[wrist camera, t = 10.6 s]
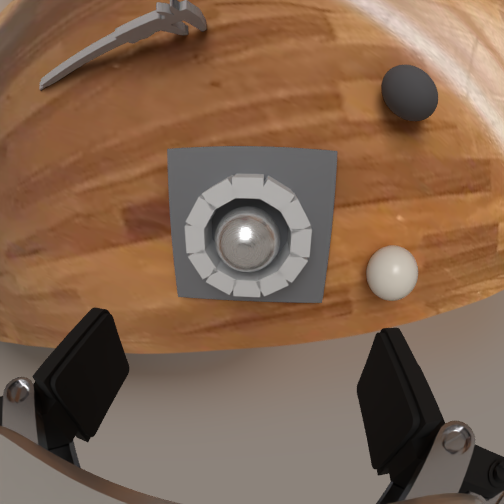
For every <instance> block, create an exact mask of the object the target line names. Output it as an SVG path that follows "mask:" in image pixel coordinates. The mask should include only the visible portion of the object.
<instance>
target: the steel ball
mask: <svg viewBox="0 0 504 504" xmlns="http://www.w3.org/2000/svg"><path fill="white" fill-rule="evenodd" d="M215 247H216V250H217V253H218V255H219V257H220V258H221V260H222V261H223V262H224V263H225V264H226V265H228V266H229V267H231V268H232V269H234V270H237V271H241V272H254V271H258V270H260V269H263V268H264V267H266V266H267V265H269V264H270V263H271V262H272V261H273V259H274V258H275V256H276V255H277V253H278V250H279V247H280V232H279V228H278V226H277V224H276V222H275V220H274V219H273V218H272V217H271V216H270V215H269V214H268V213H267V212H265V211H263V210H262V209H259V208H256V207H250V206H245V207H239V208H236V209H233V210H231V211H230V212H228V213H227V214H226V215H225V216H224V217H223V218H222V219H221V220H220V222H219V224H218V226H217V228H216V231H215Z"/></svg>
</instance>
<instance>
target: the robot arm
mask: <svg viewBox="0 0 504 504" xmlns="http://www.w3.org/2000/svg"><path fill="white" fill-rule="evenodd" d="M128 373H129V364H128V361H127V359H126V356H125V353H124V350H123V347H122V344H121V341H120V338H119V335H118V332H117V329H116V326H115V322H114V319H113V316H112V315H111V314H110V313H109V311H108V310H106V309H100V308H92V309H91V310H90V311H89V312H88V313H87V314H86V315H85V316H84V317H83V319H82V320H81V321H80V322H79V323H78V324H77V325H76V326H75V327H74V328H73V329H72V331H71V332H70V333H69V334H68V335H67V336H66V337H65V338H64V340H63V341H62V342H61V343H60V344H59V345H58V346H57V348H56V349H55V350H54V351H53V352H52V353H51V354H50V356H49V357H48V358H47V359H46V360H45V362H44V363H43V364H42V365H41V366H40V368H39V369H38V370H37V371H36V373H35V374H34V375H33V378H34V380H35V383H34V384H33V383H32V381H31V380H30V379H28V378H26V377H17V378H15V379H13V380H12V381H10V382H9V383H8V384H7V385H6V388H5V389H4V394H3V396H1V397H0V504H180V503H175V502H171V501H168V500H164V499H160V498H156V497H153V496H150V495H147V494H143V493H140V492H137V491H134V490H132V489H129V488H126V487H123V486H121V485H118V484H115V483H112V482H110V481H108V480H105V479H103V478H101V477H98V476H96V475H94V474H92V473H90V472H87V471H85V470H83V469H81V468H80V464H79V461H78V457H77V453H76V450H75V446H74V442H73V438H74V437H75V436H76V437H77V438H79V439H82V440H84V441H86V442H88V441H89V439H90V437H93V436H94V435H95V434H96V432H97V430H98V428H99V426H100V424H101V423H102V421H103V419H104V417H105V415H106V413H107V411H108V409H109V407H110V406H111V404H112V402H113V400H114V398H115V397H116V395H117V393H118V391H119V389H120V387H121V386H122V384H123V382H124V380H125V379H126V377H127V375H128ZM357 395H358V399H359V404H360V408H361V413H362V417H363V422H364V427H365V432H366V436H367V441H368V447H369V452H370V458H371V463H372V467H373V468H374V469H377V473H378V475H383V474H388V473H389V474H390V480H391V482H390V484H389V485H388V487H387V488H386V490H385V492H384V493H383V494H382V496H381V497H380V499H379V500H378V502H377V503H376V504H504V457H502V456H500V455H498V454H495V453H493V452H491V451H488V450H486V449H484V448H482V447H479V446H477V445H475V436H474V433H473V431H472V429H471V428H470V427H469V426H468V425H467V424H465V423H463V422H460V421H450V422H448V423H445V422H444V419H443V417H442V414H441V412H440V410H439V407H438V405H437V403H436V400H435V398H434V396H433V394H432V391H431V389H430V387H429V385H428V383H427V380H426V378H425V376H424V374H423V372H422V370H421V368H420V366H419V365H418V364H417V362H416V360H415V358H414V356H413V354H412V352H411V350H410V348H409V346H408V344H407V342H406V340H405V338H404V336H403V335H402V333H401V331H400V329H399V328H383V329H382V330H381V332H380V333H377V334H376V336H375V339H374V342H373V345H372V348H371V350H370V353H369V356H368V359H367V362H366V364H365V367H364V369H363V372H362V374H361V377H360V380H359V382H358V385H357Z"/></svg>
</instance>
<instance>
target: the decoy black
mask: <svg viewBox="0 0 504 504" xmlns="http://www.w3.org/2000/svg"><path fill="white" fill-rule="evenodd" d="M382 95H383V98H384V101H385V103H386V104H387V106H388V107H389V109H390V110H391V111H392V112H393V113H394V114H396V115H397V116H399V117H401V118H403V119H405V120H409V121H421V120H424V119H426V118H428V117H429V116H431V115H432V113H433V112H434V111H435V109H436V107H437V104H438V92H437V88H436V86H435V84H434V82H433V80H432V79H431V78H430V76H429V75H428V74H426V73H425V72H424V71H423V70H421V69H419V68H417V67H415V66H411V65H399V66H396V67H393V68H392V69H390V70H389V71H388V72H387V73H386V75H385V76H384V78H383V81H382Z"/></svg>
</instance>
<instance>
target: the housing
mask: <svg viewBox="0 0 504 504" xmlns="http://www.w3.org/2000/svg"><path fill="white" fill-rule="evenodd" d="M167 153H168V186H169V205H170V221H171V234H172V246H173V256H174V266H175V275H176V284H177V292H178V297H189V298H203V299H220V300H239V301H263V302H299V303H322V299H323V292H324V286H325V279H326V271H327V264H328V256H329V248H330V239H331V230H332V220H333V209H334V197H335V183H336V167H337V151H330V150H318V149H304V148H287V147H257V146H222V147H192V148H175V149H167ZM245 206H250V207H256V208H259V209H262V210H263V211H265V212H267V213H268V214H269V215H270V216H271V217H272V218H273V219H274V220H275V222H276V224H277V226H278V228H279V232H280V247H279V250H278V253H277V255H276V256H275V258H274V259H273V261H272V262H271V263H270V264H269V265H267V266H266V267H264V268H263V269H260V270H258V271H254V272H241V271H237V270H234V269H232V268H231V267H229V266H228V265H226V264H225V263H224V262H223V261H222V260H221V258H220V257H219V255H218V253H217V250H216V247H215V231H216V228H217V226H218V224H219V222H220V220H221V219H222V218H223V217H224V216H225V215H226V214H227V213H228V212H230V211H231V210H233V209H236V208H239V207H245Z"/></svg>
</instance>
